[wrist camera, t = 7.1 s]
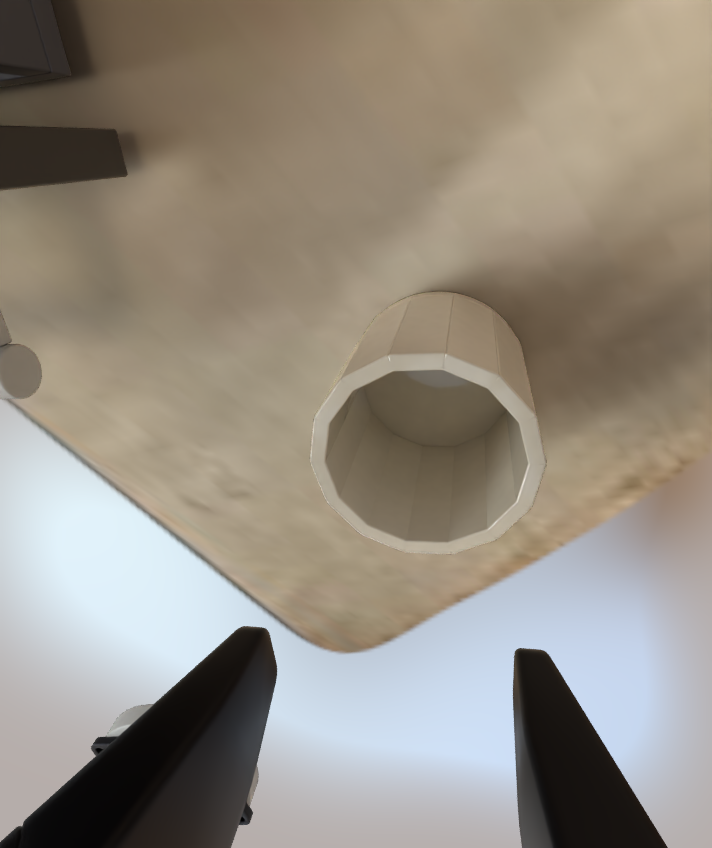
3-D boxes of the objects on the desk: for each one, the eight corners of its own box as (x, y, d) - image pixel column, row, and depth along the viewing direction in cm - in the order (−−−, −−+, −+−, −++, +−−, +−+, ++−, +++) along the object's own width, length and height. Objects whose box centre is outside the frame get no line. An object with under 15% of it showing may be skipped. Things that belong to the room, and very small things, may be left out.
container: (383, 462, 20) (353, 568, 15) (331, 316, 17) (276, 383, 13) (540, 432, 18) (564, 540, 13) (503, 266, 16) (516, 322, 11)
